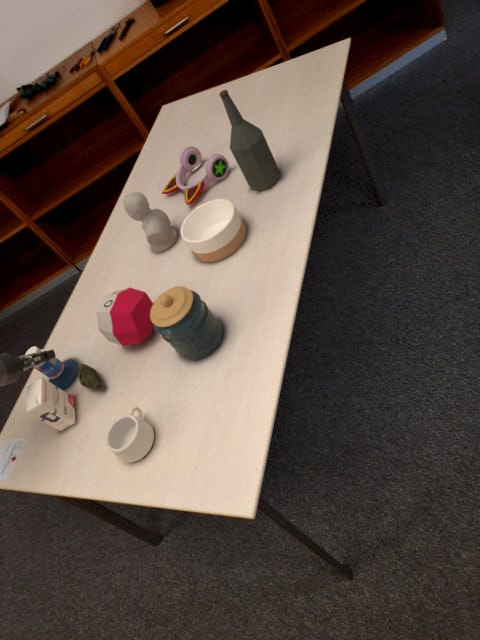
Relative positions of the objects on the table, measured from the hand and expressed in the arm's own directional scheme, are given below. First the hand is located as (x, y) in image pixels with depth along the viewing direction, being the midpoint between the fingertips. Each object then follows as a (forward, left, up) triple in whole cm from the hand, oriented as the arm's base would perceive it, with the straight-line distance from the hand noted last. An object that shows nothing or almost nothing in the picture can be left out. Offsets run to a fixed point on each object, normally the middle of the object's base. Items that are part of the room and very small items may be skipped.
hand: (45, 355), depth 120 cm
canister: (+43, -11, -9) cm, 45 cm away
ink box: (+2, -15, -9) cm, 18 cm away
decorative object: (+26, +1, -9) cm, 27 cm away
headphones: (+51, +57, -9) cm, 77 cm away
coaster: (0, -2, -8) cm, 8 cm away
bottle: (+73, +39, -9) cm, 83 cm away
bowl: (+54, +22, -9) cm, 59 cm away
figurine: (+36, +35, -9) cm, 51 cm away
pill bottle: (0, -2, -5) cm, 6 cm away
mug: (+24, -31, -9) cm, 40 cm away
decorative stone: (+11, -9, -9) cm, 16 cm away
